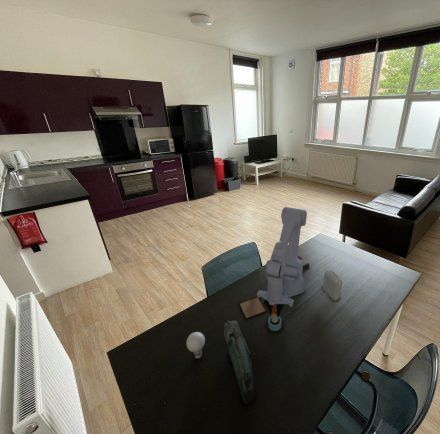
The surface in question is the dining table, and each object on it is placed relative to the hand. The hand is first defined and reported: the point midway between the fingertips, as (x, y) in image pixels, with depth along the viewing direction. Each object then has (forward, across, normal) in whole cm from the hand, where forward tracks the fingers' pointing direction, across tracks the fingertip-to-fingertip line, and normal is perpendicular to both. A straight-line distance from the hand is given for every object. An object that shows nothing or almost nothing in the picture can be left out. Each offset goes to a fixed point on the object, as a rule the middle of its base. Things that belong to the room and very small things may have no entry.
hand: (274, 313), depth 96 cm
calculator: (+7, -4, +39) cm, 40 cm away
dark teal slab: (+7, -4, -23) cm, 24 cm away
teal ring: (+7, 0, 0) cm, 7 cm away
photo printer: (+7, +19, +28) cm, 34 cm away
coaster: (+7, -13, +5) cm, 15 cm away
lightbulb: (+7, -21, -23) cm, 32 cm away
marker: (+4, 0, 0) cm, 4 cm away
